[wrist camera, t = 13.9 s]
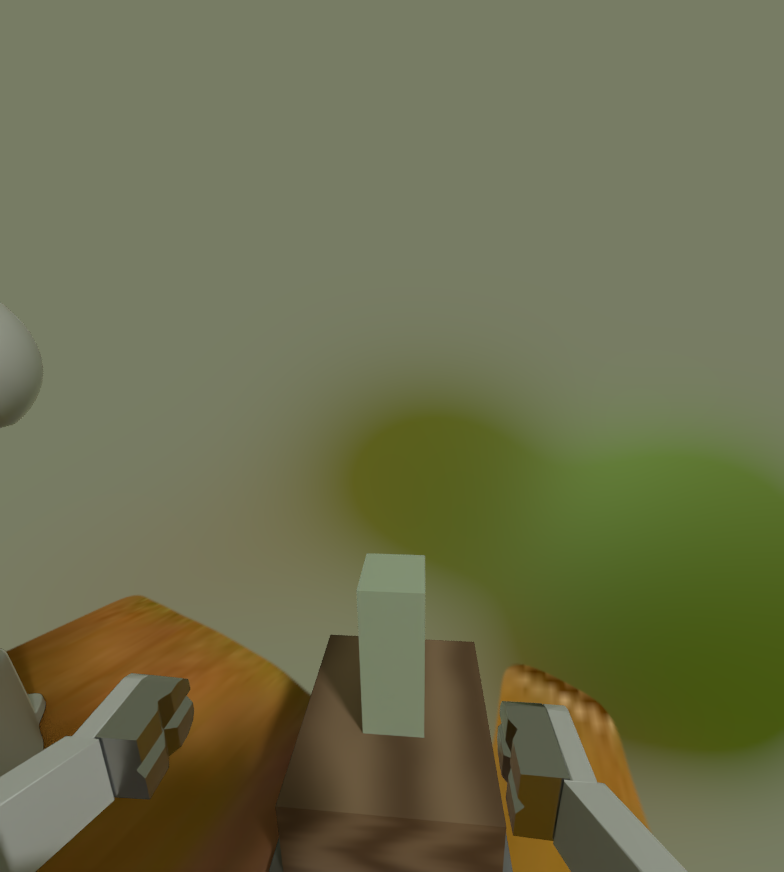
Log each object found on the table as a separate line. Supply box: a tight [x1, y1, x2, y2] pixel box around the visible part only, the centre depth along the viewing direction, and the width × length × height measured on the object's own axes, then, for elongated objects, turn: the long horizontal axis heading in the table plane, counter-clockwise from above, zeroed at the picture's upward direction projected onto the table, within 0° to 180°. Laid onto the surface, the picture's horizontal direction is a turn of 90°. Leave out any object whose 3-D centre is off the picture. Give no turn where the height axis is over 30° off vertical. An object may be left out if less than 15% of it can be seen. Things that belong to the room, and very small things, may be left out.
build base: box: [269, 635, 513, 872], centre depth 30 cm, size 16×16×6 cm
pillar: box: [357, 554, 425, 738], centre depth 28 cm, size 4×4×12 cm
